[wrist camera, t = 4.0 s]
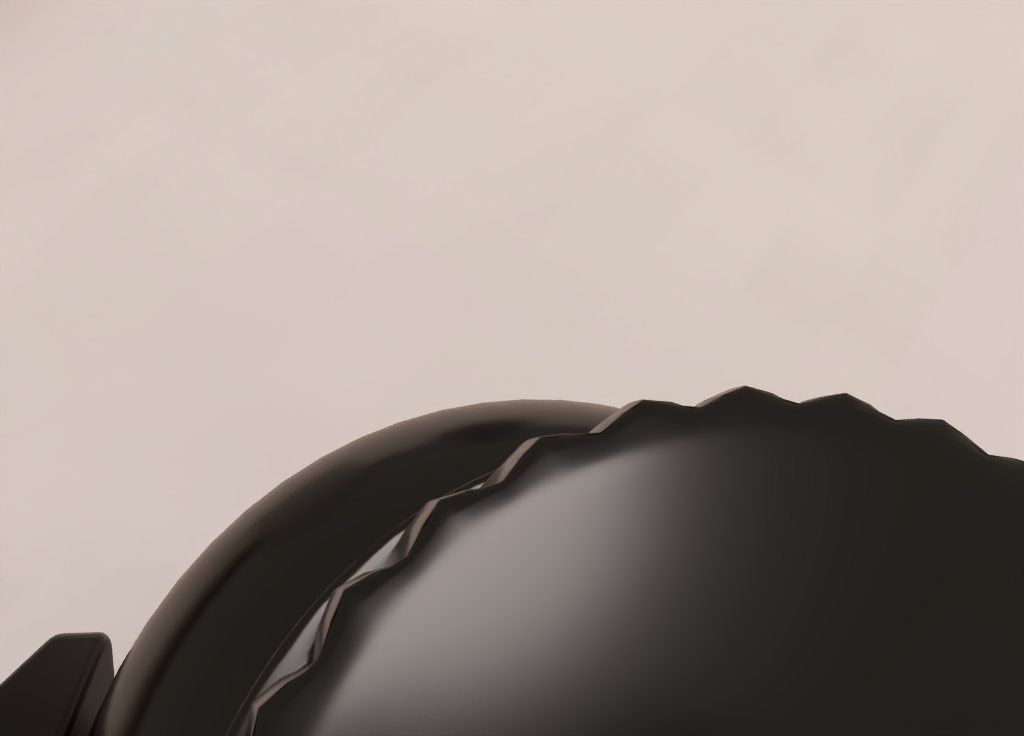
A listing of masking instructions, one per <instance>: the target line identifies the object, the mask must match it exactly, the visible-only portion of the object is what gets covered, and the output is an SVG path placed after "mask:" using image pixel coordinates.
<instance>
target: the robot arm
mask: <svg viewBox="0 0 1024 736" xmlns="http://www.w3.org/2000/svg"><path fill="white" fill-rule="evenodd" d="M113 680H114V667H113V654H112V645H111V641H110V639H109V637H108V636H107V635H106V634H104V633H101V632H92V633H63V634H58V635H55V636H54V637H52V638H50V639H49V640H48V641H47V642H45V643H44V644H43V645H42V646H41V647H40V648H39V649H38V650H37V651H36V652H35V653H34V654H33V655H32V656H30V657H29V658H28V659H27V660H26V661H25V662H24V663H23V664H22V665H21V666H20V667H19V668H18V669H16V670H15V671H14V672H13V673H12V674H11V675H10V676H9V677H8V678H7V679H6V680H5V681H4V682H2V683H1V684H0V736H88V735H89V732H90V730H91V727H92V725H93V722H94V719H95V717H96V715H97V713H98V711H99V709H100V707H101V705H102V703H103V701H104V698H105V696H106V694H107V692H108V690H109V688H110V686H111V684H112V682H113Z"/></svg>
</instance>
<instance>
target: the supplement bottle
mask: <svg viewBox="0 0 1024 736" xmlns="http://www.w3.org/2000/svg"><path fill="white" fill-rule="evenodd" d="M88 736H1024V461H1022V460H1018V459H1014V458H1008V457H1001V456H994V455H988V454H987V453H986V452H985V451H983V450H982V449H981V448H980V447H979V446H977V445H976V444H975V443H974V442H973V441H971V440H970V439H969V438H968V437H967V436H965V435H964V434H963V433H961V432H960V431H958V430H957V429H955V428H954V427H953V426H951V425H950V424H948V423H947V422H946V421H944V420H941V419H920V418H918V419H905V420H895V419H893V418H891V417H889V416H887V415H885V414H883V413H881V412H879V411H878V410H876V409H875V408H874V407H873V406H871V405H870V404H868V403H866V402H864V401H861V400H859V399H857V398H855V397H853V396H851V395H849V394H847V393H841V394H835V395H829V396H823V397H818V398H814V399H810V400H806V401H803V402H801V403H795V402H792V401H788V400H785V399H782V398H780V397H778V396H776V395H775V394H773V393H770V392H766V391H763V390H759V389H755V388H752V387H748V386H741V387H736V388H732V389H729V390H727V391H724V392H722V393H720V394H718V395H715V396H713V397H711V398H709V399H706V400H704V401H703V402H701V403H699V404H697V405H696V406H694V407H691V406H682V405H679V404H676V403H673V402H666V401H654V400H638V401H634V402H631V403H629V404H626V405H625V406H623V407H622V408H615V407H611V406H606V405H601V404H593V403H584V402H575V401H566V400H511V401H499V402H487V403H479V404H474V405H468V406H463V407H457V408H452V409H446V410H441V411H437V412H434V413H430V414H427V415H423V416H420V417H416V418H413V419H409V420H406V421H402V422H399V423H396V424H394V425H391V426H389V427H386V428H384V429H381V430H378V431H376V432H373V433H371V434H368V435H366V436H363V437H361V438H359V439H357V440H355V441H353V442H351V443H349V444H347V445H345V446H343V447H341V448H339V449H337V450H335V451H333V452H331V453H329V454H327V455H325V456H323V457H321V458H320V459H318V460H317V461H315V462H313V463H312V464H310V465H309V466H307V467H306V468H304V469H302V470H301V471H299V472H298V473H296V474H294V475H293V476H291V477H290V478H288V479H287V480H285V481H283V482H282V483H281V484H279V485H278V486H277V487H276V488H274V489H273V490H272V491H270V492H269V493H268V494H267V495H265V496H264V497H263V498H261V499H260V500H259V501H258V502H256V503H255V504H254V505H252V506H251V507H250V508H249V509H247V510H246V511H245V512H244V513H243V514H242V515H241V516H240V517H239V518H237V519H236V520H235V521H234V522H233V523H232V524H231V525H230V526H229V527H228V528H227V529H226V530H225V531H224V532H223V533H221V534H220V535H219V536H218V537H217V538H216V539H215V540H214V541H213V542H212V543H211V544H210V545H209V546H208V547H207V548H206V549H205V551H204V552H203V553H202V554H201V555H200V556H199V557H198V559H197V560H196V561H195V562H194V563H193V564H192V565H191V566H190V568H189V569H188V570H187V571H186V572H185V573H184V574H183V575H182V577H181V578H180V579H179V580H178V581H177V582H176V584H175V585H174V587H173V588H172V589H171V591H170V592H169V593H168V595H167V596H166V597H165V599H164V600H163V601H162V603H161V604H160V606H159V607H158V608H157V610H156V611H155V612H154V614H153V615H152V616H151V618H150V619H149V620H148V622H147V623H146V625H145V627H144V628H143V630H142V632H141V633H140V635H139V637H138V638H137V640H136V641H135V643H134V645H133V646H132V648H131V650H130V651H129V653H128V655H127V656H126V658H125V660H124V661H123V663H122V665H121V666H120V668H119V670H118V672H117V674H116V676H115V678H114V680H113V682H112V684H111V686H110V688H109V690H108V692H107V694H106V696H105V698H104V701H103V703H102V705H101V707H100V709H99V711H98V713H97V715H96V717H95V719H94V722H93V725H92V727H91V730H90V732H89V735H88Z"/></svg>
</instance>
